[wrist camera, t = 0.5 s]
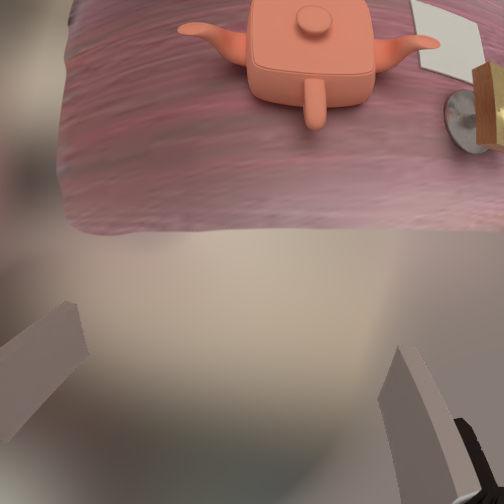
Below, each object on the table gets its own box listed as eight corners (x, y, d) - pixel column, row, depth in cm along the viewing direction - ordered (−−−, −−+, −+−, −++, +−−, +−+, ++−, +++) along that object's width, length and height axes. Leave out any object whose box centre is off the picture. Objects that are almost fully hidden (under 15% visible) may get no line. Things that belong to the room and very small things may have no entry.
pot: (310, -11, 26) (313, -66, 14) (405, 74, 28) (446, 41, 16) (208, 64, 32) (171, 26, 20) (302, 157, 34) (307, 152, 22)
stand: (442, 83, 28) (505, 54, 13) (489, 100, 26) (556, 86, 12) (443, 146, 30) (514, 143, 16) (491, 159, 29) (562, 165, 15)
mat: (409, 0, 24) (410, -2, 24) (475, 25, 23) (476, 23, 22) (419, 67, 28) (421, 66, 27) (486, 90, 26) (488, 90, 26)
